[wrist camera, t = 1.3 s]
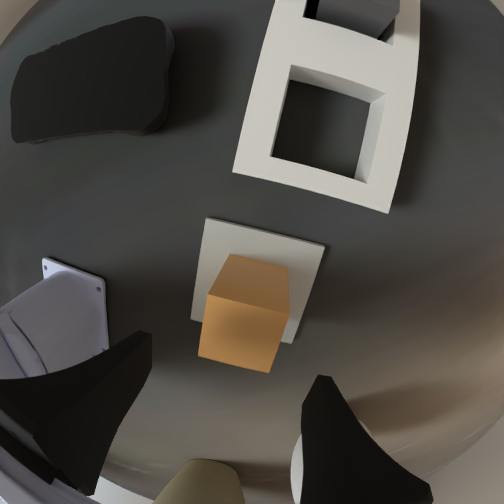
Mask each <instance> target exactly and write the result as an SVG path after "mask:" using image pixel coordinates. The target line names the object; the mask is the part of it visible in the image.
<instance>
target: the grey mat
mask: <svg viewBox="0 0 504 504" xmlns="http://www.w3.org/2000/svg"><path fill="white" fill-rule="evenodd" d="M324 248H325V247H324V245H321V244H317V243H314V242H310V241H306V240H302V239H298V238H294V237H290V236H286V235H282V234H278V233H274V232H270V231H265V230H261V229H257V228H253V227H249V226H245V225H240V224H236V223H232V222H228V221H223V220H219V219H215V218H210V217H207V218H206V221H205V227H204V233H203V239H202V245H201V251H200V257H199V263H198V270H197V276H196V283H195V290H194V297H193V304H192V311H191V319H192V320H195V321H199V322H203V318H204V312H205V306H206V300H207V294H208V292H209V290H210V289H211V287H212V285H213V283H214V281H215V279H216V278H217V276H218V274H219V272H220V270H221V268H222V267H223V265H224V263H225V261H226V259H227V258H228V256H229V254H233V255H237V256H241V257H245V258H249V259H253V260H257V261H261V262H266V263H270V264H274V265H278V266H282V267H286V268H288V283H289V307H290V315H289V318H288V321H287V324H286V327H285V330H284V333H283V335H282V338H281V341H280V342H285V343H290V344H292V341H293V339H294V336H295V333H296V331H297V328H298V325H299V323H300V320H301V317H302V314H303V311H304V309H305V306H306V303H307V300H308V297H309V294H310V291H311V288H312V286H313V283H314V280H315V277H316V273H317V270H318V267H319V264H320V261H321V258H322V255H323V252H324Z"/></svg>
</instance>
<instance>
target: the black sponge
mask: <svg viewBox="0 0 504 504" xmlns="http://www.w3.org/2000/svg"><path fill="white" fill-rule="evenodd" d="M174 49H175V41H174V37H173V34H172V32H171V30H170V29H169V27H168V26H167V25H166V24H165V23H163V22H162V21H161V20H159V19H157V18H154V17H148V16H141V17H135V18H131V19H127V20H123V21H120V22H117V23H115V24H111V25H106V26H103V27H100V28H98V29H95V30H93V31H90V32H87V33H84V34H82V35H80V36H78V37H76V38H72V39H70V40H66V41H65V42H62V43H60V44H58V45H54V46H51V47H50V48H49V49H46V50H44V51H42V52H39V53H37V54H34V55H30V56H28V57H26V58H25V59H24V60H23V62H22V63H21V65H20V67H19V70H18V72H17V75H16V77H15V80H14V83H13V87H12V91H11V99H10V105H11V135H12V138H13V140H14V141H15V142H16V143H30V144H32V145H34V144H38V143H40V142H41V141H46V140H53V139H58V138H67V137H73V136H79V135H91V134H98V133H112V132H121V133H125V134H129V135H133V136H145V135H148V134H150V133H152V132H153V131H155V130H156V129H157V128H159V127H160V126H161V125H162V124H163V123H164V122H165V120H166V118H167V115H168V104H169V78H168V71H169V66H170V61H171V56H172V53H173V51H174Z"/></svg>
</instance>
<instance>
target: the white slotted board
mask: <svg viewBox="0 0 504 504" xmlns="http://www.w3.org/2000/svg"><path fill="white" fill-rule="evenodd" d="M307 4H308V0H276V1H275V4H274V8H273V11H272V14H271V18H270V21H269V25H268V29H267V32H266V36H265V39H264V43H263V47H262V51H261V54H260V58H259V62H258V66H257V70H256V73H255V77H254V81H253V85H252V89H251V93H250V97H249V102H248V106H247V110H246V114H245V118H244V122H243V127H242V131H241V135H240V140H239V144H238V149H237V153H236V158H235V162H234V167H233V171H232V172H235V173H239V174H244V175H249V176H253V177H258V178H262V179H266V180H270V181H275V182H279V183H283V184H287V185H291V186H295V187H299V188H302V189H306V190H310V191H314V192H317V193H321V194H325V195H328V196H332V197H335V198H339V199H342V200H345V201H349V202H352V203H355V204H359V205H362V206H365V207H368V208H372V209H375V210H378V211H381V212H384V213H387V214H388V213H389V209H390V206H391V202H392V199H393V195H394V191H395V188H396V184H397V180H398V176H399V172H400V168H401V163H402V159H403V155H404V150H405V145H406V140H407V135H408V130H409V125H410V119H411V113H412V107H413V100H414V93H415V85H416V76H417V66H418V54H419V37H420V0H400V10H399V13H398V14H397V15H396V17H395V18H394V19H393V20H392V21H391V23H390V24H389V25H388V26H387V27H386V28H385V30H384V31H383V32H382V33H381V40H377V39H375V38H372V37H369V36H367V35H364V34H361V33H358V32H355V31H352V30H349V29H346V28H342V27H339V26H336V25H332V24H328V23H325V22H321V21H317V20H312V19H308V18H304V17H305V13H306V9H307ZM289 80H295V81H299V82H303V83H307V84H311V85H315V86H319V87H322V88H326V89H329V90H333V91H336V92H339V93H342V94H346V95H349V96H352V97H355V98H358V99H360V100H363V101H366V102H369V103H371V104H370V109H369V115H368V120H367V124H366V129H365V134H364V138H363V143H362V147H361V152H360V156H359V160H358V164H357V168H356V172H355V176H354V179H351V178H348V177H344V176H341V175H338V174H334V173H331V172H327V171H324V170H320V169H317V168H313V167H310V166H306V165H302V164H298V163H294V162H290V161H286V160H282V159H278V158H274V157H272V153H273V148H274V144H275V140H276V136H277V131H278V127H279V123H280V119H281V114H282V110H283V106H284V102H285V97H286V93H287V89H288V85H289Z"/></svg>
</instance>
